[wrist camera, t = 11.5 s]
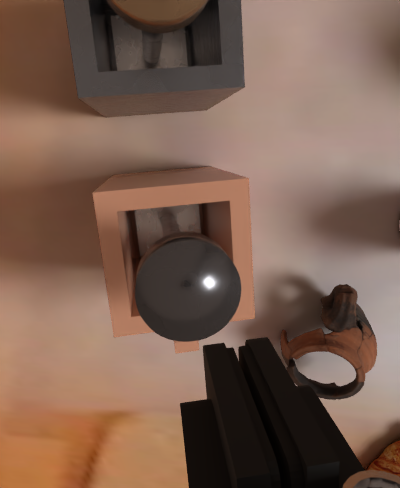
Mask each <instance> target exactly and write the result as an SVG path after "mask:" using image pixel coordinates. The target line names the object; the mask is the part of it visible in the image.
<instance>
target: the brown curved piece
mask: <svg viewBox="0 0 400 488" xmlns="http://www.w3.org/2000/svg"><path fill="white" fill-rule="evenodd" d="M356 301H357V292H356V290H355V289H353V288H352V287H350V286H349V285H347V284H345V285H338V286H336V287H335V288H334V289H333V291H332V292H331V294H330V295H329V296H325V297H323V298H322V299H321V302H322V306H323V308H322V314H321V318H322V321H323V323H324V325H325V327H326V328H327V329H329V330H331V331H333V332H331V333H329V334H324V332H323V330H322V329H321V328H319V329H316V330H313V331H310V332H307V333H304V334H302V335H300V336H298V337H296V338H294V339H292V340H291V341H290V342H288V340H287V333H286V331H285V330H282V333H281V350H282V356H283V358H284V360H285V362H286V364H287V365H288V367H287V371H288V373H289V375H290V377H291V378H292V380H293V382H294V383H295V384H296V385H297V386H302V385H309V386H311V387H312V389H313V390H314V391H315V393H316V395H317V396H318V397H320V398H324V399H332V400H336V399H344V398H348V397H351V396H354V395H355V394H357V393H358V392H359V391H360V390H361V388H362V387H363V385H364V381H365V373H367V372H368V371H369V370H371V369H372V367H373V366H374V364H375V361H376V356H377V343H376V338H375V335H374V333H373V330H372V328H371V325H370V324H369V322H368V320H367V318H366V317H365V314H364V312H363V310H362V309H361V308H360V306H359V305H358V304H357V303H356ZM356 322H357V324H358V327H359V328H358V327H357V325H356ZM316 351H325V352H327V351H328V352H331V353H334V354H337V355H339V356H341V357H343V358H344V359H346V360H347V361H348V362H350V363H351V364H352V365H353V367H354V368H355V371H356V378H355V380H354V381H353V382H351V383H349V384H347V385H344V386H341V387H340V386H337V385H336V384H335V383H330V384H323V383H319V382H316V381H314V380H311V379H308V378H306V377H305V376H304V375H303V374H301V373H300V372H299V371H298V370H297V368H296V364H295V362H294V360H293V358H294V359H298V358H300V357H301V356H303V355H304V354H306V353H309V352H316Z"/></svg>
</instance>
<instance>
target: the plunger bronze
mask: <svg viewBox="0 0 400 488" xmlns="http://www.w3.org/2000/svg"><path fill="white" fill-rule="evenodd" d="M107 2H108V4H109V5H110V6H111V8H112V9H113V10H114V11H115V13H116V14H117V16H111V24H112V32H113V40H114V48H115V56H116V64H117V71H124V70H141V69H159V68H176V67H188V62H187V50H186V37H185V26H187V25H188V24H190V23H191V22H192V21H193V20H195V19H196V18H197V17H198V15H199V14H200V13H201V12H202V10H203V9H204V7H205V6H206V4H207V2H208V0H107Z"/></svg>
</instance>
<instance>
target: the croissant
mask: <svg viewBox="0 0 400 488" xmlns="http://www.w3.org/2000/svg"><path fill="white" fill-rule="evenodd" d="M367 470H377V471H385V472H388V473H391V474H394V475H397V476H399V477H400V440H399V441H397V442H394V443H393V444H390V445H389V446H388V447H387V448H385V450H384V452H383V453H382V454H381V455H380V457H379V458H378V459H376V460H374V461H373V462H372V463H371V464H370V466H369V467H368V469H367Z"/></svg>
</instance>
